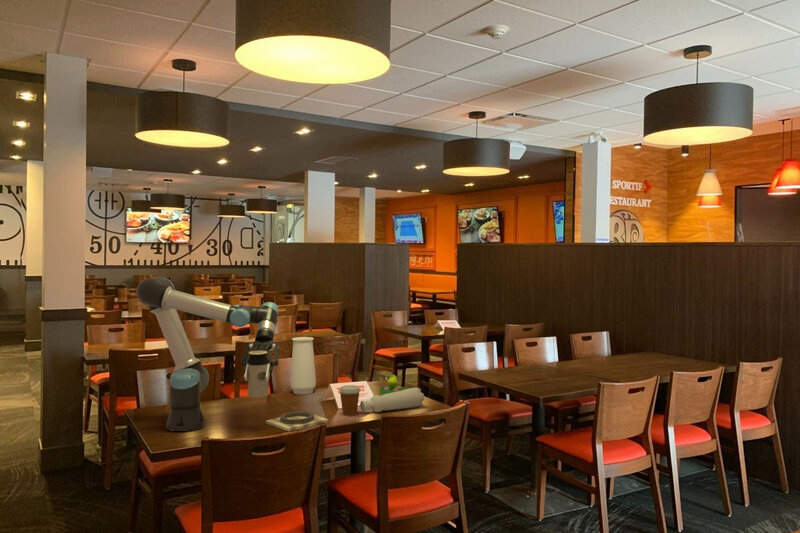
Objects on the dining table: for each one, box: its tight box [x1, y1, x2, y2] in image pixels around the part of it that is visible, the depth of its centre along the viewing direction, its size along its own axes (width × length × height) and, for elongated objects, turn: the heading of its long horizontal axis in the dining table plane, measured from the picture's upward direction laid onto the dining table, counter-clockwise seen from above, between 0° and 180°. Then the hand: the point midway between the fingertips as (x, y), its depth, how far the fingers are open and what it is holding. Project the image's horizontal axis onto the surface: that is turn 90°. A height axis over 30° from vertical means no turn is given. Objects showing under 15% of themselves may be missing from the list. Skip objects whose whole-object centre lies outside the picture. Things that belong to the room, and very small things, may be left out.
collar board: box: [265, 410, 329, 433], centre depth 262 cm, size 20×17×3 cm
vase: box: [290, 336, 317, 395], centre depth 318 cm, size 13×13×28 cm
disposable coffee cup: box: [338, 384, 361, 416], centre depth 276 cm, size 10×10×12 cm
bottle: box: [359, 387, 425, 413], centre depth 282 cm, size 9×9×30 cm
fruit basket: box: [379, 374, 405, 396], centre depth 305 cm, size 11×9×11 cm
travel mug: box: [247, 350, 269, 399], centre depth 252 cm, size 8×8×18 cm
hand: (256, 378), depth 248 cm, fingers closed on travel mug, 8 cm apart
